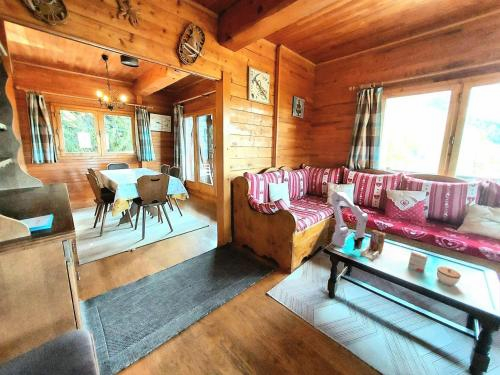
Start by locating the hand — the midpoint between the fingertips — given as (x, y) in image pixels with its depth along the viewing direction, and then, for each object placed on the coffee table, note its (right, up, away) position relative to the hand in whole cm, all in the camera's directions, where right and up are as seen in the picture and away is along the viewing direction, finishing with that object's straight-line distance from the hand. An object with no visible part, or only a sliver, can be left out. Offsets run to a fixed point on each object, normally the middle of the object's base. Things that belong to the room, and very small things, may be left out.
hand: (357, 245), depth 165 cm
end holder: (+9, -7, -1) cm, 12 cm away
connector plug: (-2, -2, -1) cm, 3 cm away
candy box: (+18, -6, +8) cm, 21 cm away
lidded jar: (+41, -16, -29) cm, 53 cm away
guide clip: (+5, -7, 0) cm, 8 cm away
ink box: (+32, -12, -16) cm, 38 cm away
